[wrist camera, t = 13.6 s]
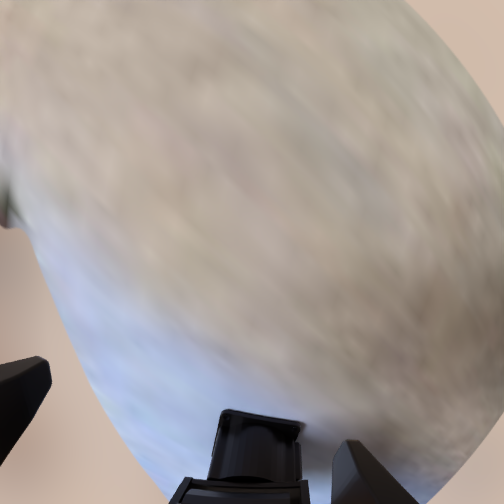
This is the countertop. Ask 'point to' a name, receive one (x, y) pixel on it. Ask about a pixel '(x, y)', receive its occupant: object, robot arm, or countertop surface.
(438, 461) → the countertop surface
